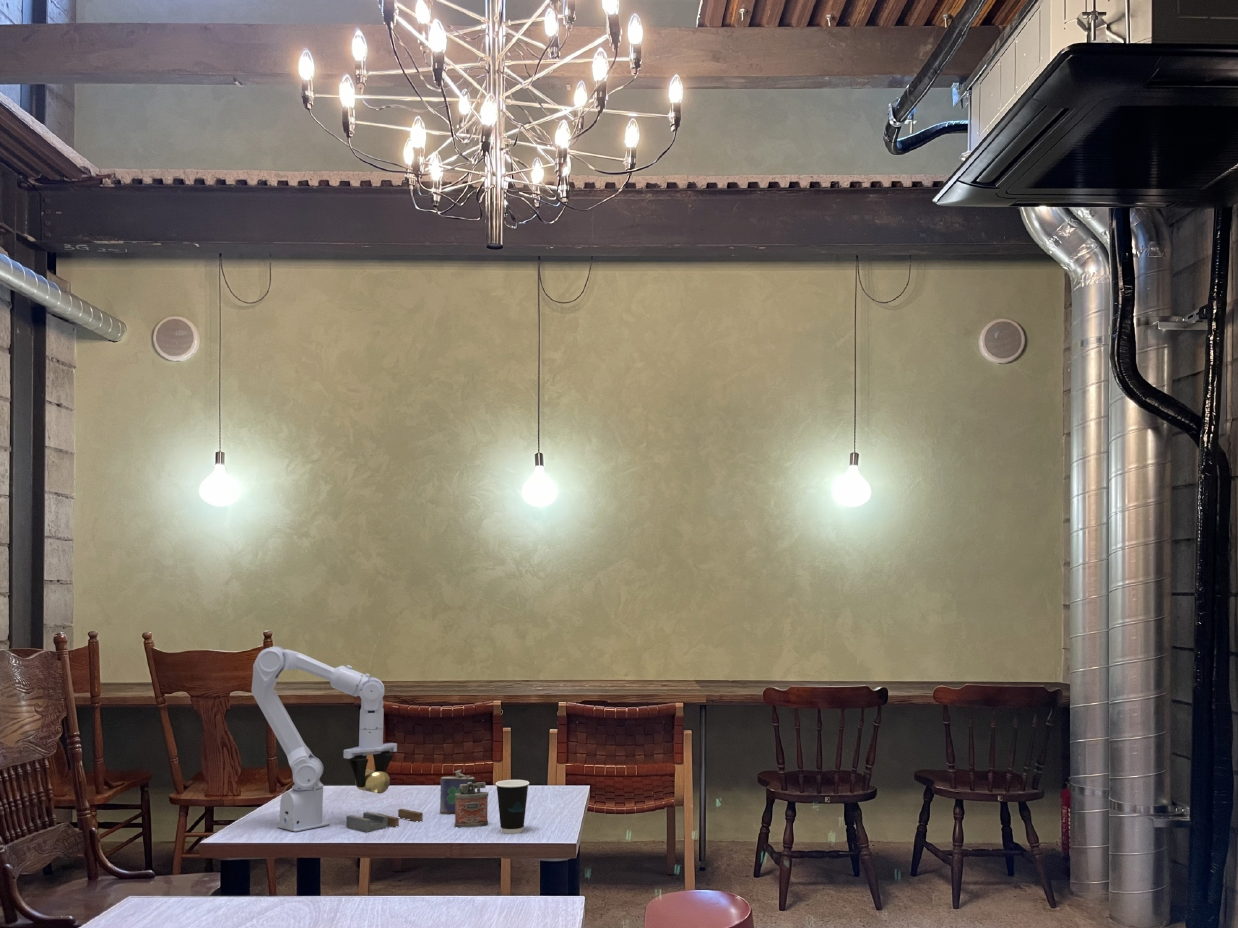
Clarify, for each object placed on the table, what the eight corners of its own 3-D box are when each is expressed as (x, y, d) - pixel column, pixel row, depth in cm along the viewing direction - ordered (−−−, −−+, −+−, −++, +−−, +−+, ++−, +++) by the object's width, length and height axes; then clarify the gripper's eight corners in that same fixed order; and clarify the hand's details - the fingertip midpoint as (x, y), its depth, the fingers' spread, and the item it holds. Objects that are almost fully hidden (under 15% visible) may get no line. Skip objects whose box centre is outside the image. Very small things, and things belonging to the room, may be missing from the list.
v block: (366, 832, 234) (366, 820, 235) (346, 827, 240) (346, 815, 240) (387, 827, 239) (387, 815, 239) (367, 822, 244) (367, 811, 244)
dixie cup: (516, 836, 229) (516, 786, 231) (488, 832, 233) (488, 783, 234) (535, 829, 236) (535, 781, 238) (507, 825, 240) (508, 778, 241)
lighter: (455, 828, 238) (455, 784, 239) (453, 825, 241) (454, 782, 243) (489, 825, 240) (489, 782, 241) (487, 822, 243) (487, 780, 245)
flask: (438, 814, 254) (439, 770, 255) (442, 811, 257) (443, 768, 258) (473, 815, 252) (474, 771, 253) (477, 813, 255) (477, 769, 256)
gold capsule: (389, 791, 245) (389, 770, 245) (372, 795, 241) (373, 773, 241) (372, 788, 249) (372, 767, 250) (355, 791, 245) (355, 770, 246)
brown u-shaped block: (394, 827, 239) (394, 818, 240) (374, 822, 244) (374, 814, 245) (422, 821, 246) (422, 812, 246) (402, 816, 251) (402, 808, 251)
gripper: (356, 732, 239) (355, 791, 237) (405, 726, 250) (403, 782, 249) (339, 730, 244) (337, 788, 242) (387, 724, 255) (386, 779, 253)
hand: (369, 785), depth 246 cm, fingers closed on gold capsule, 5 cm apart
